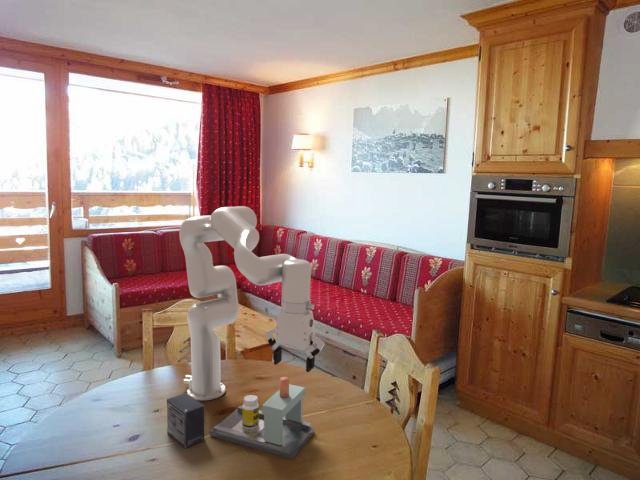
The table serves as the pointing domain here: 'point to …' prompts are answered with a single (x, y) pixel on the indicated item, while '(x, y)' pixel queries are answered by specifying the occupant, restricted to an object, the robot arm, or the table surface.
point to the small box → (185, 420)
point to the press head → (282, 410)
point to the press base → (254, 438)
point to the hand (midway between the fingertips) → (293, 366)
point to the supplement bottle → (250, 412)
